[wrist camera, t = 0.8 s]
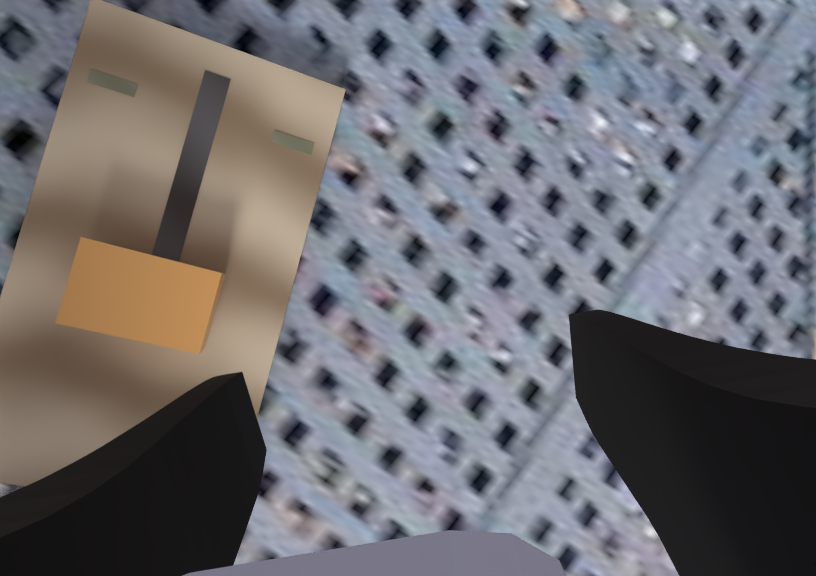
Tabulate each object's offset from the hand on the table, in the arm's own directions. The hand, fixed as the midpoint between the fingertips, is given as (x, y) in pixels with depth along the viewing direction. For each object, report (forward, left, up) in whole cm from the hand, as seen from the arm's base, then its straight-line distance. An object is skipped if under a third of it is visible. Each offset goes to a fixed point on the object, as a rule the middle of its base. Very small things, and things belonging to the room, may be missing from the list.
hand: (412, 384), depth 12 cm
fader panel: (-5, +6, -18) cm, 20 cm away
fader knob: (-6, +5, -16) cm, 18 cm away
